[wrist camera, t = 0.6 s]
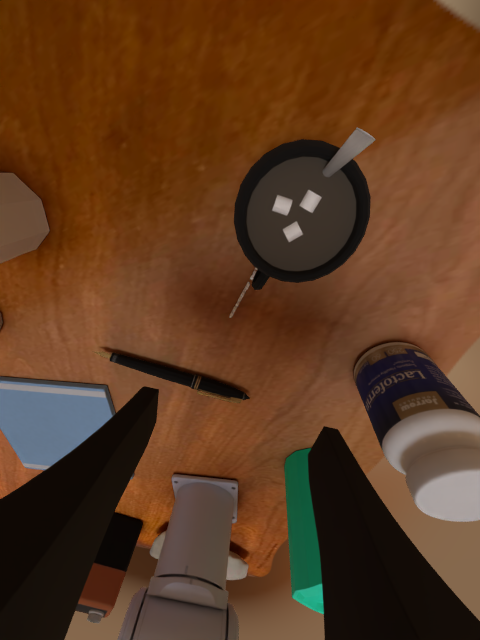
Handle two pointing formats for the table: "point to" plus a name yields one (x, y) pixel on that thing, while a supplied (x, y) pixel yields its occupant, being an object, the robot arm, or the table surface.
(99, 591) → the battery
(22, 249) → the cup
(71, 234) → the table surface
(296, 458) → the candle
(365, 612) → the robot arm
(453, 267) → the table surface
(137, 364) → the fountain pen
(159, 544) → the stone tool
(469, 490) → the pill bottle
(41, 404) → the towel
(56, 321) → the table surface
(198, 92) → the table surface
